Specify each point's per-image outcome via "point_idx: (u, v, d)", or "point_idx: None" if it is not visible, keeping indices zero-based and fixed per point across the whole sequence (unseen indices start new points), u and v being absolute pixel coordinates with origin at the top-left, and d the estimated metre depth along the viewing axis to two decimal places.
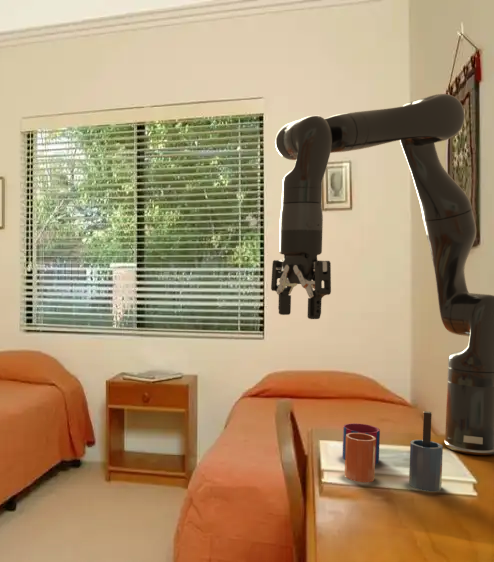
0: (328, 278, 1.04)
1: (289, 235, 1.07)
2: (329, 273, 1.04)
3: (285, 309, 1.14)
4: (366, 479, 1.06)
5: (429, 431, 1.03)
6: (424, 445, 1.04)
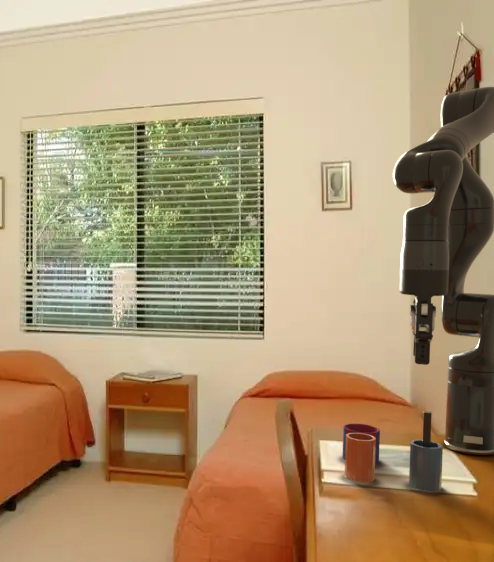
0: (429, 322, 0.97)
1: (401, 275, 1.04)
2: (430, 317, 0.97)
3: None
4: (366, 479, 1.06)
5: (429, 431, 1.03)
6: (424, 445, 1.04)
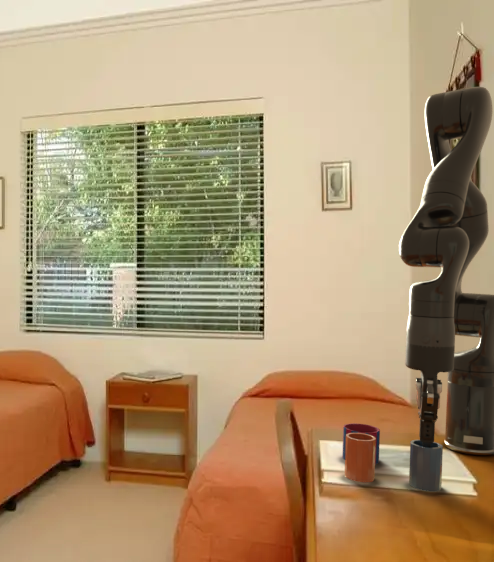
0: (434, 410, 0.99)
1: (407, 349, 1.04)
2: (436, 406, 0.99)
3: None
4: (366, 479, 1.06)
5: None
6: (424, 445, 1.04)
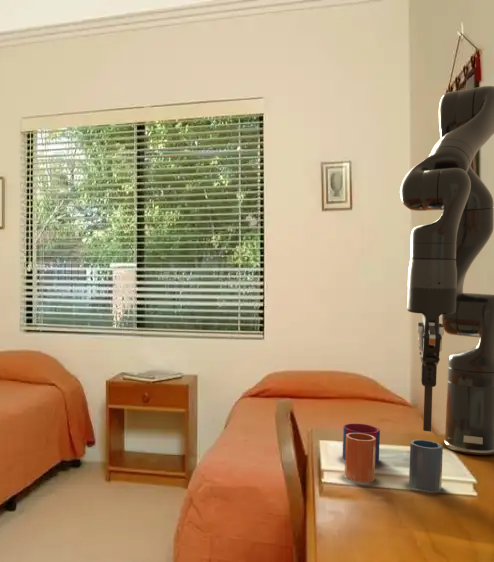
0: (436, 351, 0.99)
1: (409, 292, 1.03)
2: (438, 347, 0.98)
3: None
4: (366, 479, 1.06)
5: None
6: (426, 389, 1.03)
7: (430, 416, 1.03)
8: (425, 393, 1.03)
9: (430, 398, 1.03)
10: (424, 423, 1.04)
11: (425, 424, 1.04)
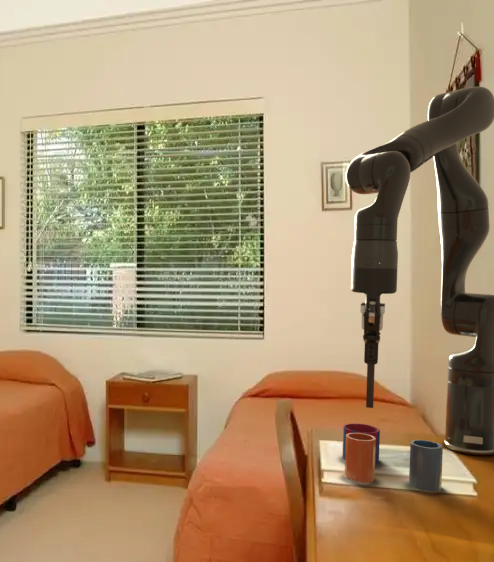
0: (376, 329, 1.02)
1: (352, 273, 1.06)
2: (377, 325, 1.01)
3: None
4: (366, 479, 1.06)
5: None
6: (368, 367, 1.06)
7: (372, 393, 1.06)
8: (368, 371, 1.06)
9: (372, 375, 1.06)
10: (367, 400, 1.07)
11: (367, 401, 1.07)
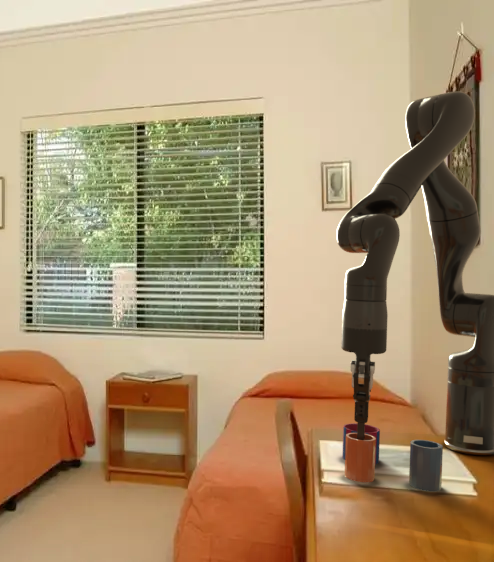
0: (365, 390, 1.03)
1: (342, 332, 1.07)
2: (367, 386, 1.02)
3: None
4: (366, 479, 1.06)
5: None
6: (359, 425, 1.07)
7: None
8: (358, 429, 1.07)
9: (362, 433, 1.07)
10: None
11: None
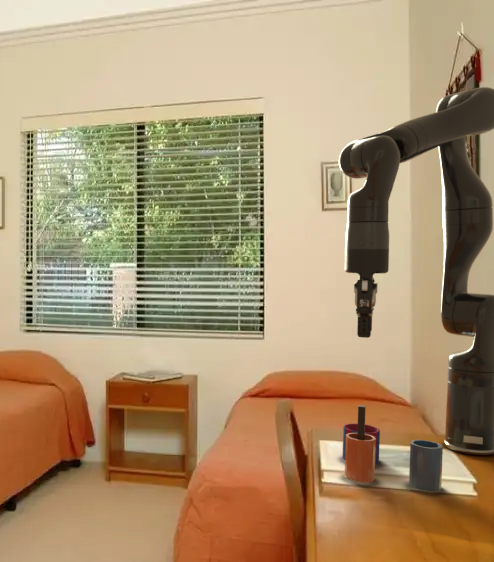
0: (368, 297, 1.04)
1: (346, 254, 1.11)
2: (370, 292, 1.04)
3: None
4: (366, 479, 1.06)
5: (363, 424, 1.07)
6: (358, 438, 1.07)
7: None
8: None
9: None
10: None
11: None
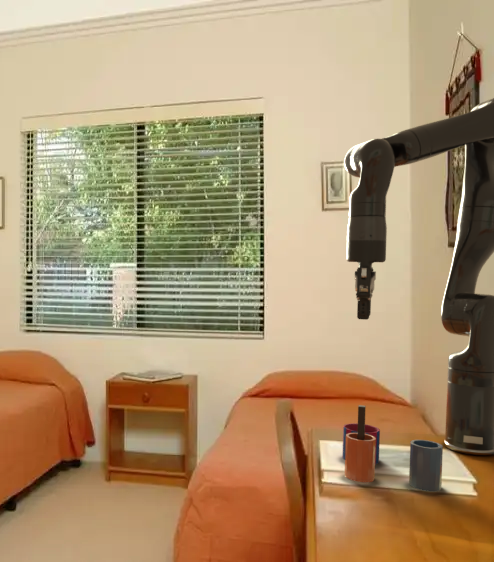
0: (367, 283, 1.17)
1: (347, 245, 1.23)
2: (368, 278, 1.16)
3: None
4: (366, 479, 1.06)
5: (363, 424, 1.07)
6: (358, 438, 1.07)
7: None
8: None
9: None
10: None
11: None
